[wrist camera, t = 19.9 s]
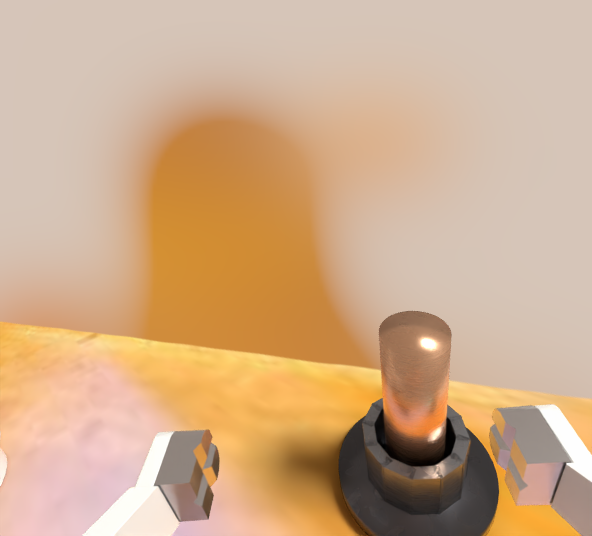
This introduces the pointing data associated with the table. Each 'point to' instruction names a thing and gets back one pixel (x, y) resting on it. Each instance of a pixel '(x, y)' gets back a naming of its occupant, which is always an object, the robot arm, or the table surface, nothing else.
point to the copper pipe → (415, 386)
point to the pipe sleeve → (418, 483)
